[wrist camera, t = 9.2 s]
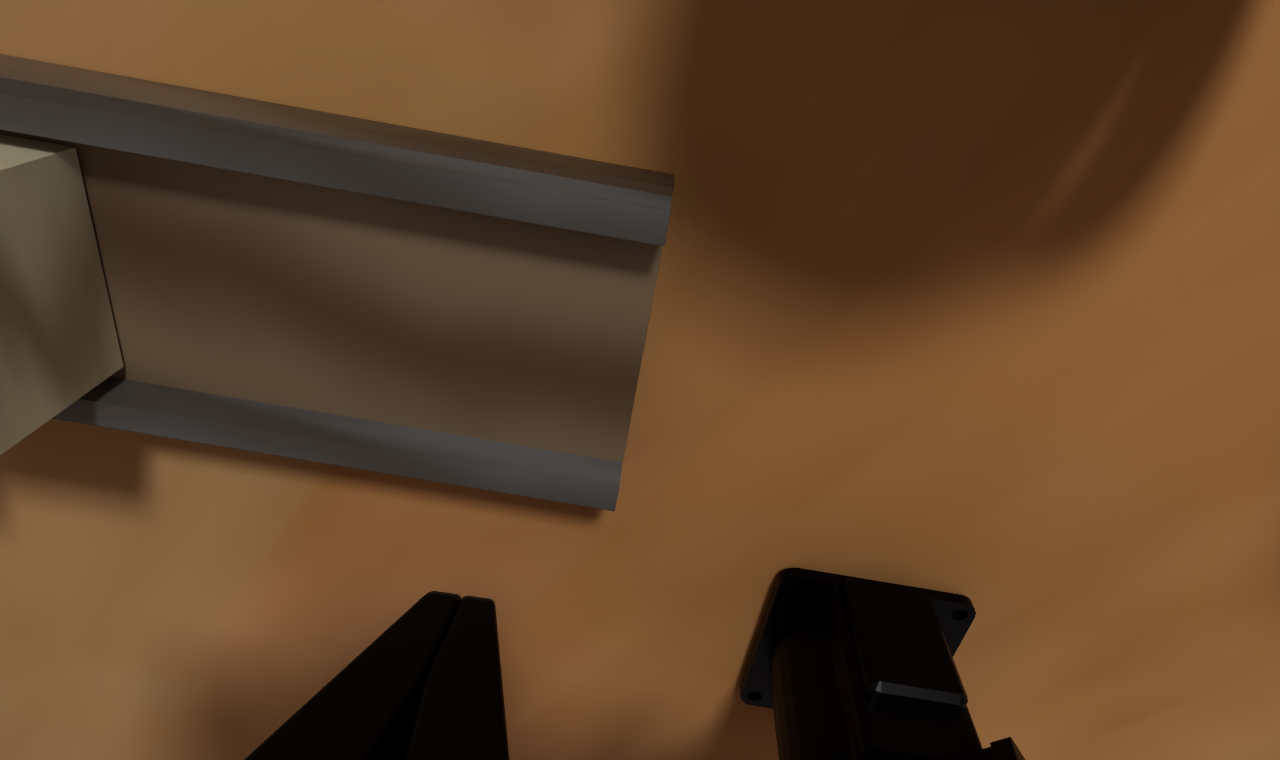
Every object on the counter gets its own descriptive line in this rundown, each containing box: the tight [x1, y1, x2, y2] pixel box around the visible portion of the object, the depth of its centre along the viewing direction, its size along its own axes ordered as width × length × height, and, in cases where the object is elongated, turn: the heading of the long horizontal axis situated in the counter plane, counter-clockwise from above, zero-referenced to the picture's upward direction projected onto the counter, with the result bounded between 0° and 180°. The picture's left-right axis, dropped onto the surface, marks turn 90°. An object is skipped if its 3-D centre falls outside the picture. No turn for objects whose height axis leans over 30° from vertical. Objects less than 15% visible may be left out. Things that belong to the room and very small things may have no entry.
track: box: [0, 54, 674, 511], centre depth 17 cm, size 9×24×6 cm, turn 81°
